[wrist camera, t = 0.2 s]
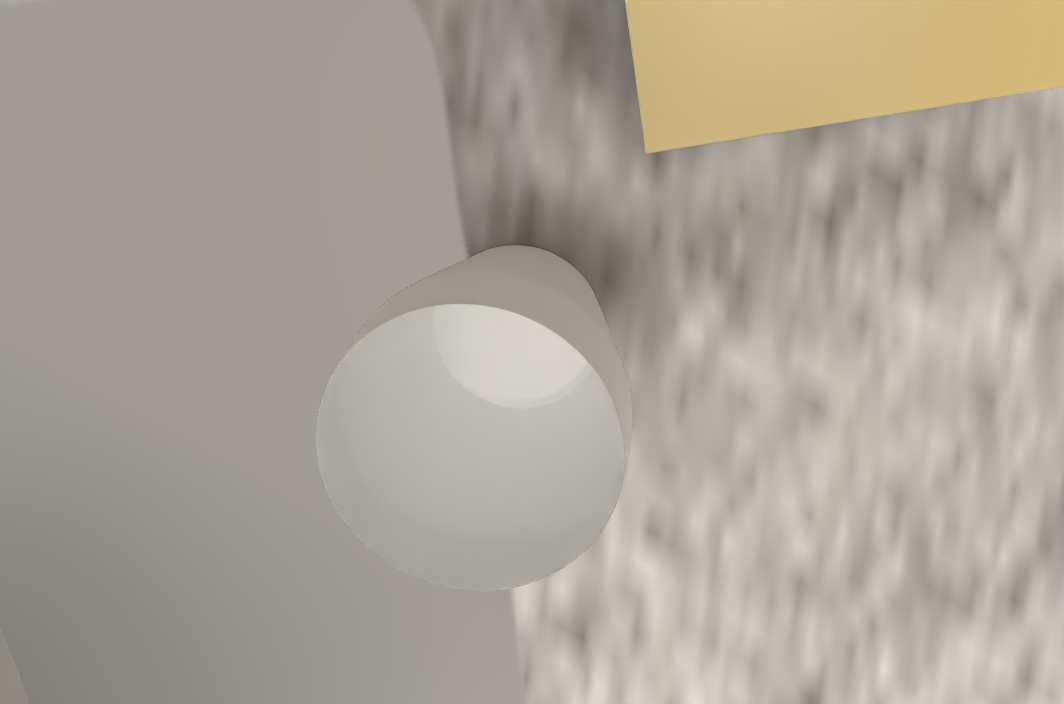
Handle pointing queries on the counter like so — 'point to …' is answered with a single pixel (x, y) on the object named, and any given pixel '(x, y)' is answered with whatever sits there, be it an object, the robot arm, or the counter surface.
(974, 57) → the lid
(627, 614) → the counter surface
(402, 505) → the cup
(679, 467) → the counter surface
